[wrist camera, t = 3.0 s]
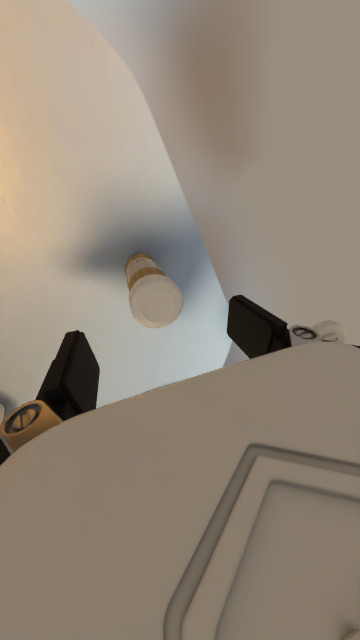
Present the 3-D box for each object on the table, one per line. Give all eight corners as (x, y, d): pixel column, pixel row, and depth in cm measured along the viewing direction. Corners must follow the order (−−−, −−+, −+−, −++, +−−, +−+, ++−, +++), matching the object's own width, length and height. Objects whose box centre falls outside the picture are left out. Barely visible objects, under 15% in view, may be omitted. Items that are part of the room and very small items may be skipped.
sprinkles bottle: (129, 286, 26) (137, 335, 15) (121, 254, 24) (123, 286, 13) (158, 280, 27) (186, 323, 16) (153, 249, 25) (182, 275, 14)
